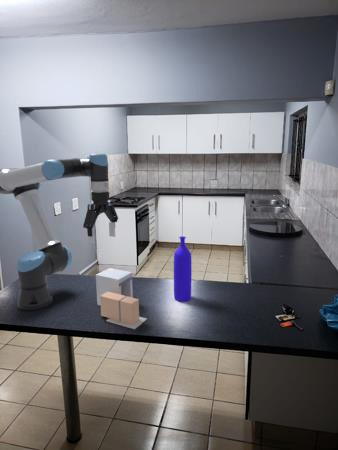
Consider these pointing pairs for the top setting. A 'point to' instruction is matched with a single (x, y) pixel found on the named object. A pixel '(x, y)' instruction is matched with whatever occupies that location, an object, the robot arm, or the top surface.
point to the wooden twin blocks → (119, 307)
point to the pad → (127, 323)
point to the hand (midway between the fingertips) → (102, 239)
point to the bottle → (182, 272)
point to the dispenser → (114, 283)
